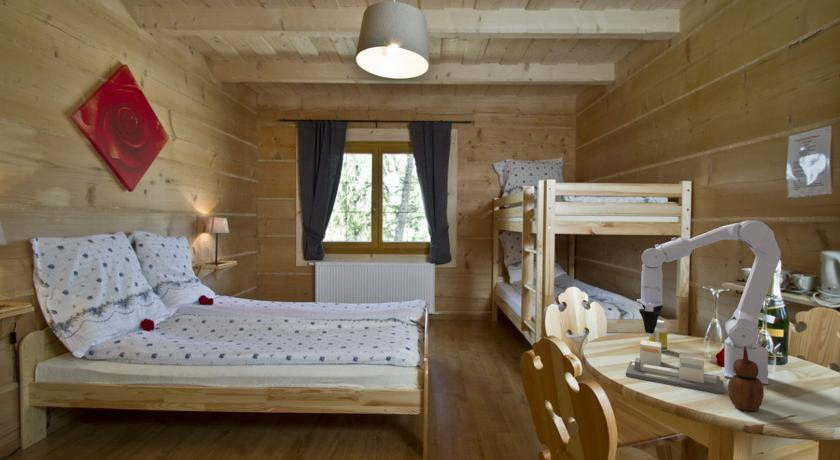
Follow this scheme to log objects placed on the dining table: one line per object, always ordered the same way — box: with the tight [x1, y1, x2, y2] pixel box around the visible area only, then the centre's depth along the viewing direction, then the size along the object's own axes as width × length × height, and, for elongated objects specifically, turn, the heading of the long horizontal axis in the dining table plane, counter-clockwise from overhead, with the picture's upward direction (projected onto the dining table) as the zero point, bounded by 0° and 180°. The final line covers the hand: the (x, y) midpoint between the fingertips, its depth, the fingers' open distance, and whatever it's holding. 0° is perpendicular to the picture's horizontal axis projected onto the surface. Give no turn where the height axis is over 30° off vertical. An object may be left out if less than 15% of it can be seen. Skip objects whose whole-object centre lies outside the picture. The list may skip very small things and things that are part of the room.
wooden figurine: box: [727, 346, 765, 412], centre depth 93 cm, size 7×6×15 cm
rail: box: [625, 351, 723, 395], centre depth 112 cm, size 22×11×7 cm, turn 56°
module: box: [639, 339, 662, 367], centre depth 124 cm, size 6×5×6 cm
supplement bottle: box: [648, 319, 668, 352], centre depth 137 cm, size 5×5×10 cm
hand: (650, 330), depth 124 cm, fingers open, 7 cm apart
